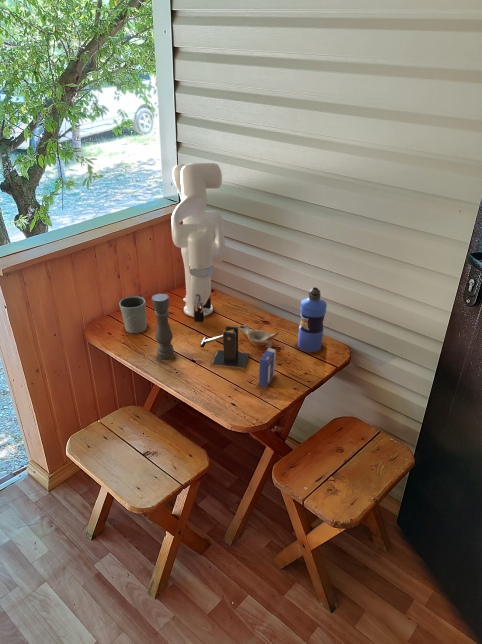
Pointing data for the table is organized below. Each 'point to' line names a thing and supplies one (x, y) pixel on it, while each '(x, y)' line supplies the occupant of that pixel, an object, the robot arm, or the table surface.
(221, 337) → the switch lever
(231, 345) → the switch base
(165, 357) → the candle holder
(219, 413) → the table surface
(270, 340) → the oil lamp
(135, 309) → the grey green planter pot
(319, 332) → the water bottle
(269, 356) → the walkman
